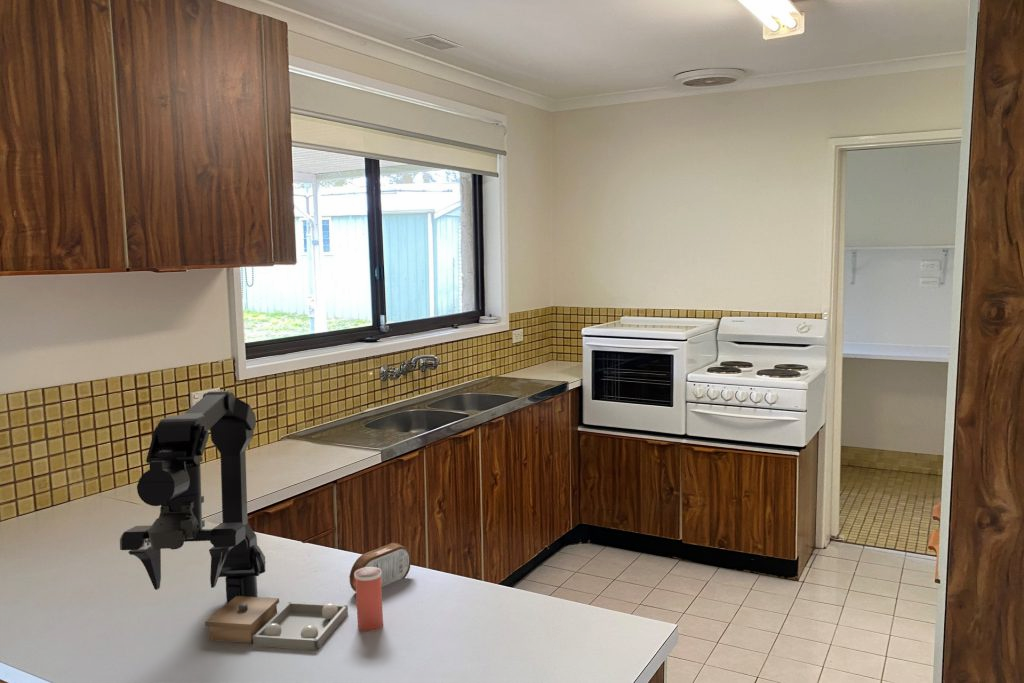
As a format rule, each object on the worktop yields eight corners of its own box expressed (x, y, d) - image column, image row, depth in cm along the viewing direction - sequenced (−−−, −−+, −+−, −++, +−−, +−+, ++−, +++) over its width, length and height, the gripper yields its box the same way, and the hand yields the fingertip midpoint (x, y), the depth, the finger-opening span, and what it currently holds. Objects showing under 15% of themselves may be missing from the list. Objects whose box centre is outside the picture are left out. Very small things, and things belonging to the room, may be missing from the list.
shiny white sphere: (269, 635, 144) (268, 619, 143) (285, 636, 143) (283, 620, 143) (261, 643, 141) (260, 627, 140) (277, 644, 140) (276, 628, 140)
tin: (404, 574, 172) (402, 537, 171) (414, 578, 170) (412, 540, 169) (349, 599, 160) (347, 558, 159) (359, 603, 158) (357, 562, 157)
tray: (289, 614, 154) (288, 602, 154) (348, 617, 152) (347, 605, 151) (253, 650, 140) (252, 636, 140) (317, 654, 138) (316, 640, 138)
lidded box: (237, 617, 153) (236, 591, 152) (280, 620, 151) (278, 593, 151) (206, 645, 142) (204, 616, 142) (252, 648, 141) (250, 619, 140)
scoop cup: (362, 622, 149) (360, 566, 148) (387, 624, 149) (385, 567, 147) (353, 635, 145) (350, 576, 144) (378, 636, 144) (376, 578, 143)
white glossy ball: (305, 637, 142) (304, 621, 142) (321, 638, 142) (320, 622, 142) (298, 645, 140) (297, 629, 139) (314, 646, 139) (313, 630, 139)
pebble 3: (326, 615, 151) (325, 599, 151) (341, 615, 151) (340, 600, 150) (319, 622, 148) (318, 606, 148) (334, 623, 148) (333, 607, 147)
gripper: (101, 505, 123) (104, 606, 123) (222, 501, 124) (225, 602, 123) (134, 492, 134) (137, 584, 134) (245, 488, 135) (247, 580, 135)
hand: (185, 588), depth 131 cm, fingers open, 9 cm apart
